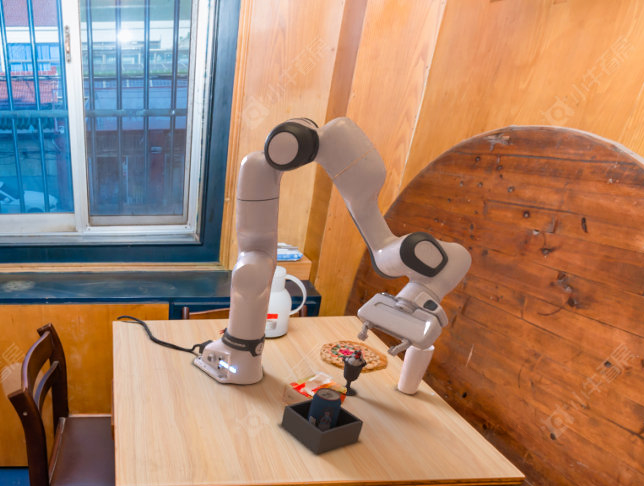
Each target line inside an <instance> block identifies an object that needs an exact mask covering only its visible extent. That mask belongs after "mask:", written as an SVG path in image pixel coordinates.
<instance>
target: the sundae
mask: <svg viewBox="0 0 644 486" xmlns="http://www.w3.org/2000/svg"><path fill="white" fill-rule="evenodd" d="M341 360H342V362H343V374H342V375H343V379H344V380H345V381H346V383H345V386H344V387H346V388H347V392H346V394H345V395H344V396H354V395H356V390H355V389H353V388H351V385H352V382H355V381H357V380H358V379H359V377H360V375H361V372H362V370H363V369H364V368H365V367H366V366H368V363H367V361H366V360H365V358H364V355H363V354H362V348H360V349H359V350H358V351H357V350H354V351H353V352H352V353H351V354H350V355H346V356H344V357H342V359H341Z"/></svg>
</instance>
